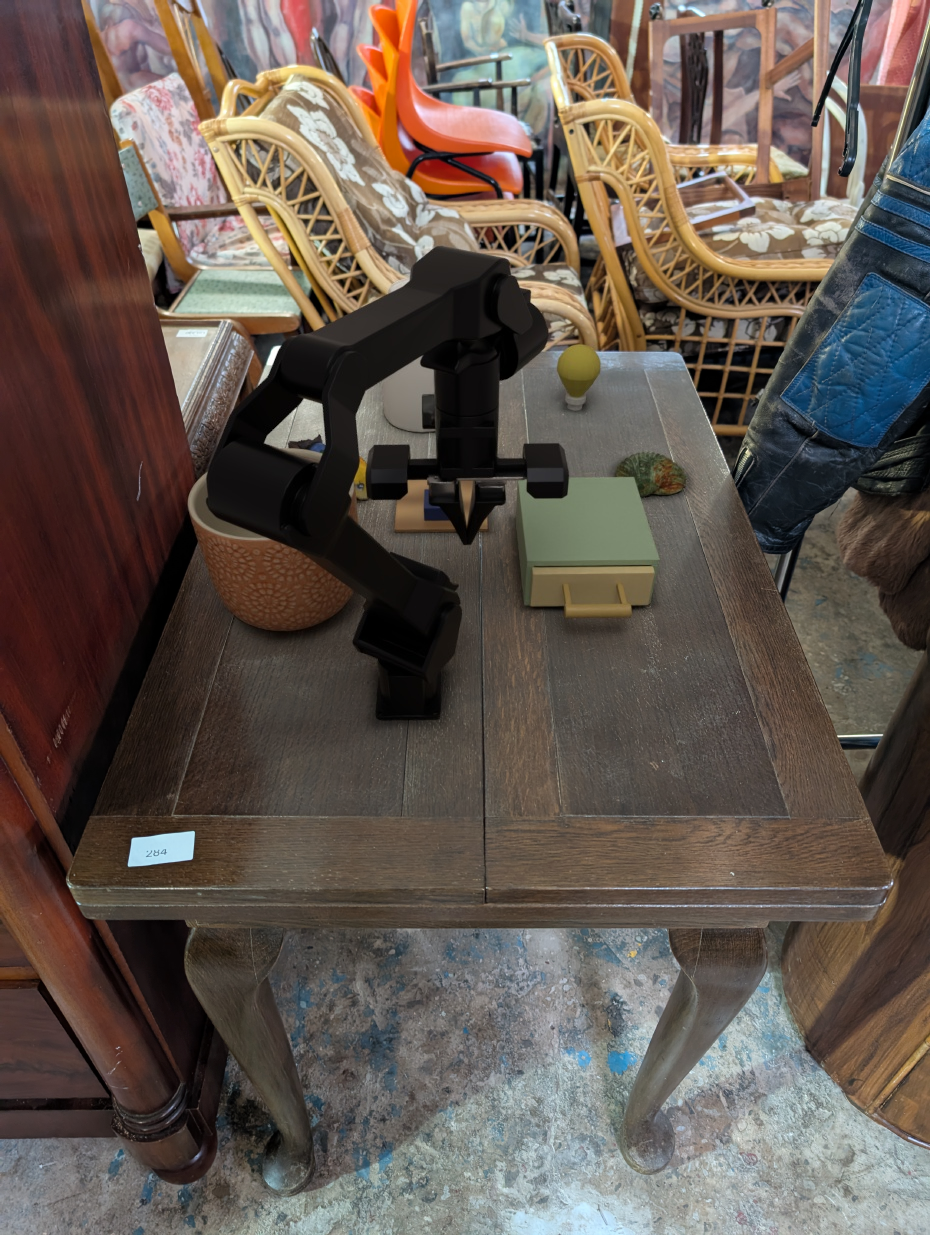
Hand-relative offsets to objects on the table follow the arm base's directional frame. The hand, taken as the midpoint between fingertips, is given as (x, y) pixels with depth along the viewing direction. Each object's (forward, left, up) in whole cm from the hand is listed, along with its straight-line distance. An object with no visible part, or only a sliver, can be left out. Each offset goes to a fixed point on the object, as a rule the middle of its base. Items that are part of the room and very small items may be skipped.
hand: (467, 542), depth 81 cm
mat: (+24, +3, -12) cm, 27 cm away
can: (+49, +6, -12) cm, 51 cm away
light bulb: (+51, -18, -12) cm, 55 cm away
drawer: (+8, -14, -11) cm, 19 cm away
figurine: (+29, +18, -12) cm, 36 cm away
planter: (+5, +20, -12) cm, 24 cm away
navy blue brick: (+24, +3, -12) cm, 27 cm away
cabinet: (+12, -14, -12) cm, 22 cm away
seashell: (+30, -26, -12) cm, 41 cm away
